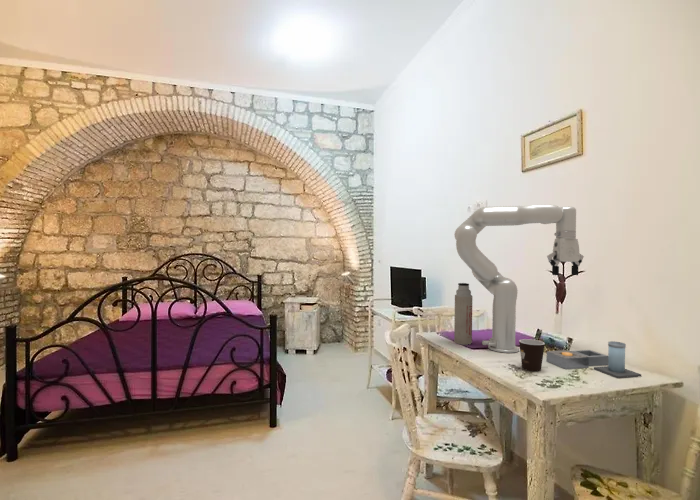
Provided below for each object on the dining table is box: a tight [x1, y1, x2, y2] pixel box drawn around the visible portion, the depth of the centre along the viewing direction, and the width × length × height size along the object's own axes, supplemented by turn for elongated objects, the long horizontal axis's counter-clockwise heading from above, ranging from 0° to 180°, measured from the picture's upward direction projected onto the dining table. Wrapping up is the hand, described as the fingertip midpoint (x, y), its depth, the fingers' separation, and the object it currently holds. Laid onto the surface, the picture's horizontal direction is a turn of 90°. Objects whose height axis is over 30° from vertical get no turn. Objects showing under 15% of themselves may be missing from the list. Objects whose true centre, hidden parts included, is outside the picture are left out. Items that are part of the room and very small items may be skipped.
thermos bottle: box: [453, 282, 473, 346], centre depth 182 cm, size 8×8×28 cm
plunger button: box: [562, 352, 572, 356], centre depth 150 cm, size 4×4×4 cm
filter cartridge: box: [607, 340, 627, 373], centre depth 140 cm, size 5×5×10 cm
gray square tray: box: [572, 349, 608, 367], centre depth 153 cm, size 9×9×4 cm
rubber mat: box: [593, 365, 642, 379], centre depth 140 cm, size 10×10×1 cm
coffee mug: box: [518, 338, 545, 373], centre depth 145 cm, size 12×9×10 cm
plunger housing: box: [546, 349, 589, 370], centre depth 150 cm, size 10×10×4 cm
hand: (565, 275), depth 167 cm, fingers open, 9 cm apart
